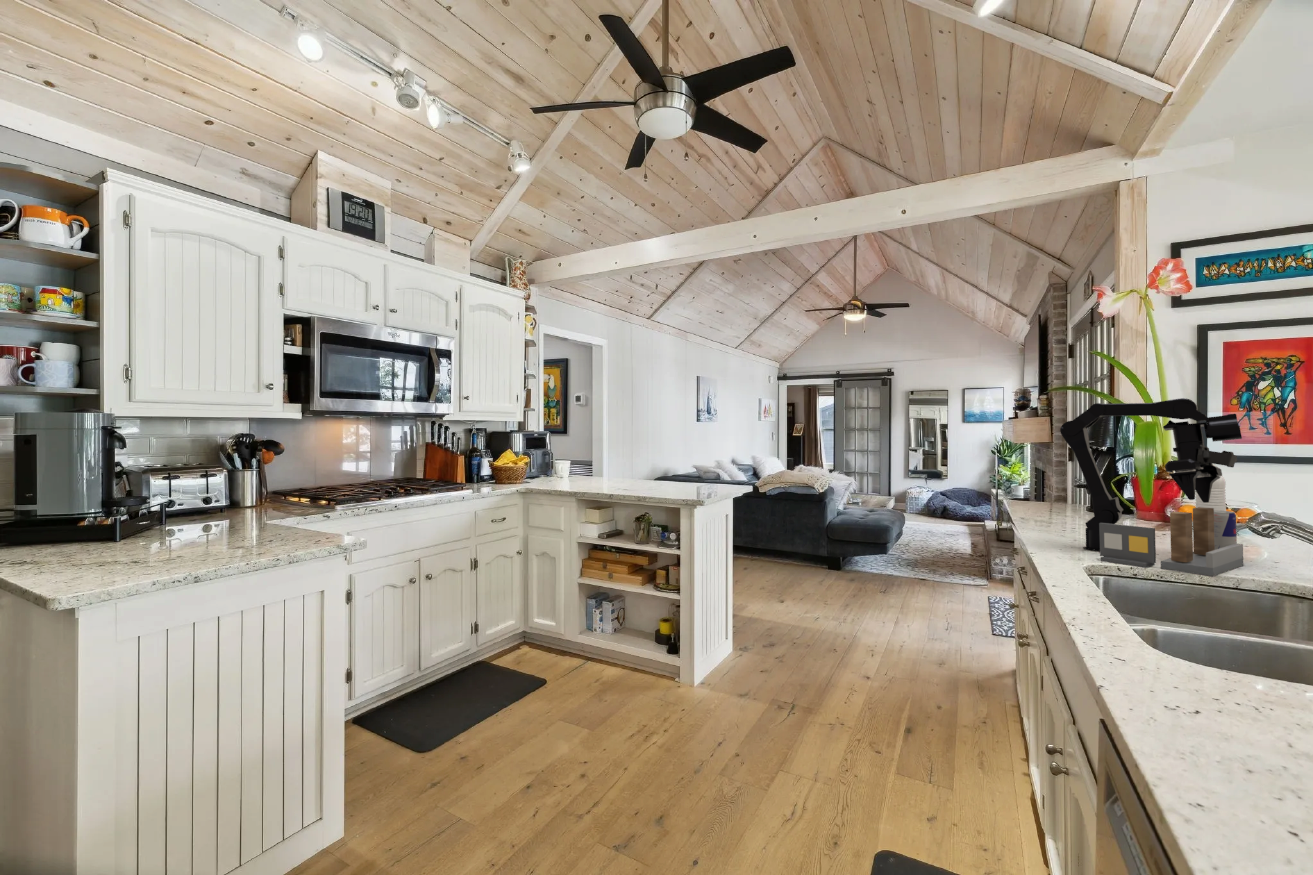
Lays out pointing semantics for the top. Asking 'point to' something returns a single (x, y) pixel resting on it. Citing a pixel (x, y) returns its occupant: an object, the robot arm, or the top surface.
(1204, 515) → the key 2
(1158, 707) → the top surface
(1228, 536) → the energy drink
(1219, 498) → the water bottle
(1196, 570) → the grey stepped base
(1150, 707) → the top surface
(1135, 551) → the card
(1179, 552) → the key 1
